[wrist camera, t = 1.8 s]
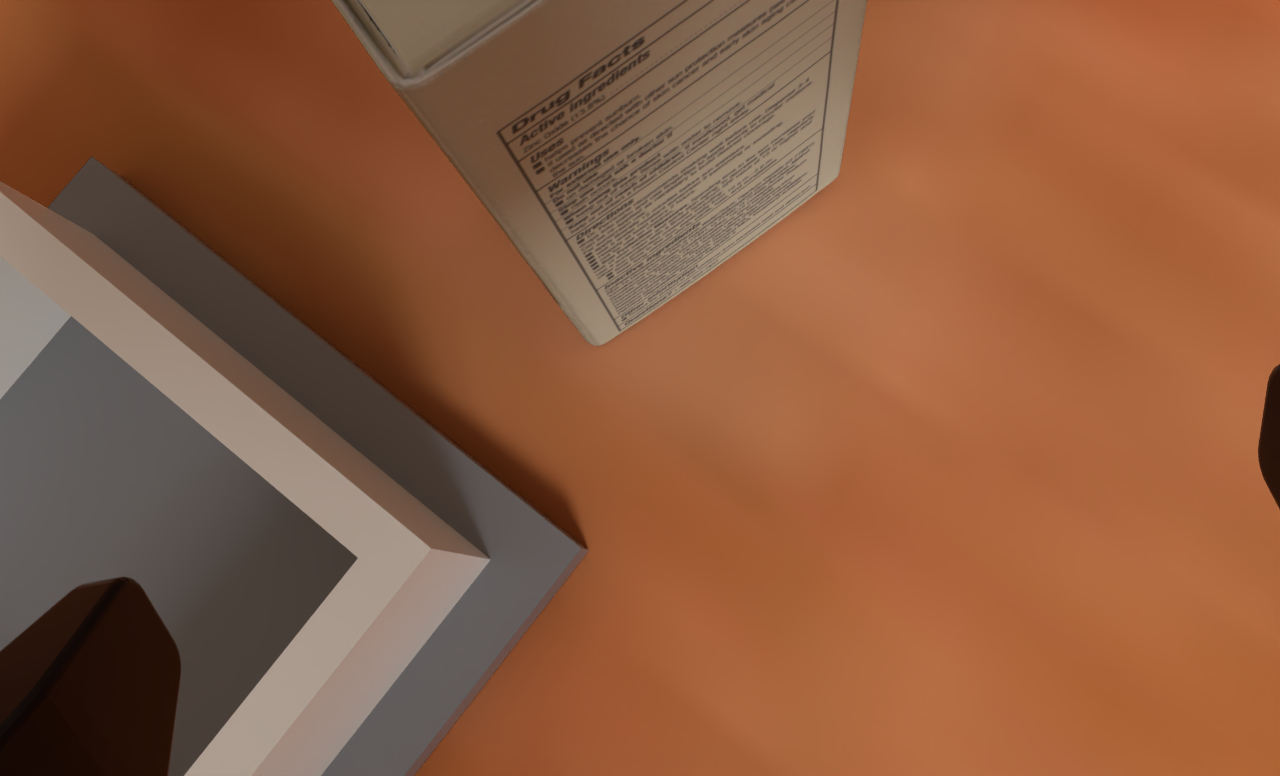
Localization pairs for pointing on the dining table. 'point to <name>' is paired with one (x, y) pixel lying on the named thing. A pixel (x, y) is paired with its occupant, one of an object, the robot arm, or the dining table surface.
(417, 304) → the dining table surface
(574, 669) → the dining table surface
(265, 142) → the dining table surface
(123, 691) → the robot arm
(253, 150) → the dining table surface
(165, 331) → the holder
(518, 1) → the skincare box
